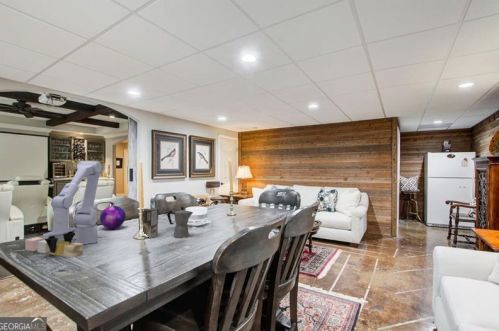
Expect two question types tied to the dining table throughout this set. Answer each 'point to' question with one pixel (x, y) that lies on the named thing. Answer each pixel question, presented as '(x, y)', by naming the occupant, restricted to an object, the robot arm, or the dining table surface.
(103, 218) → the decorative orb
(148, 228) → the coffee box
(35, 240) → the pink block
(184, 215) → the coffeepot
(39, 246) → the grey block
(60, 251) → the mustard block
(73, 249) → the maple block
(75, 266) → the dining table surface
